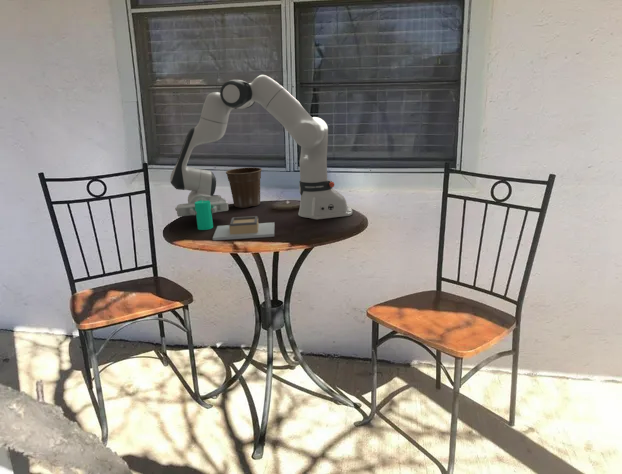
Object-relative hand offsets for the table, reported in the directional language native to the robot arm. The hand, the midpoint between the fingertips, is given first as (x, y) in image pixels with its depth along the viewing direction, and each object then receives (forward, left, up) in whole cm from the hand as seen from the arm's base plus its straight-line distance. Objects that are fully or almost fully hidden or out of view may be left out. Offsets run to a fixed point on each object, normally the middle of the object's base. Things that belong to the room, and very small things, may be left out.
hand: (204, 212), depth 195 cm
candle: (0, -1, -7) cm, 7 cm away
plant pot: (-14, -37, -7) cm, 40 cm away
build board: (-16, +9, -7) cm, 19 cm away
